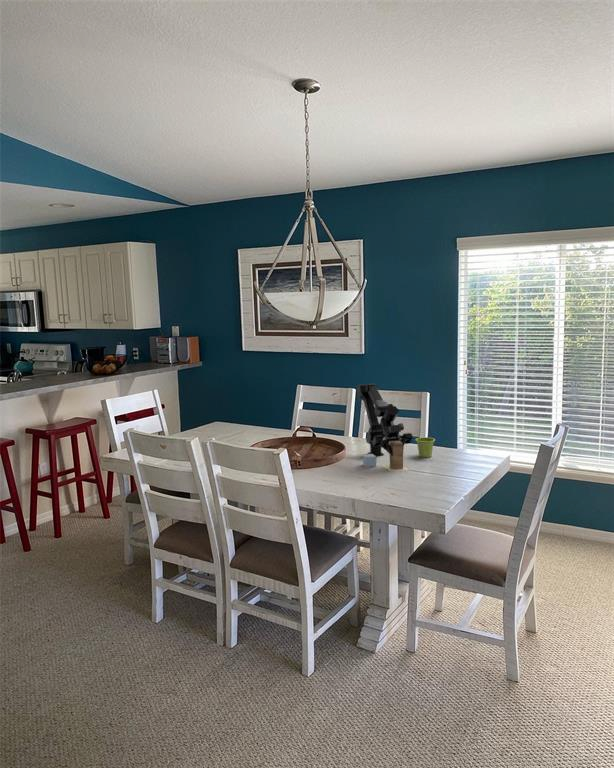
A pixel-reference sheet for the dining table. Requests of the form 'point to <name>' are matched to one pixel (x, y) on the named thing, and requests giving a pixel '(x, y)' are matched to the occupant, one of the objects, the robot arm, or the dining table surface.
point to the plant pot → (425, 446)
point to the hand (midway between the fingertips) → (397, 455)
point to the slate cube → (369, 460)
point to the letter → (393, 469)
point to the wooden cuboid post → (396, 455)
